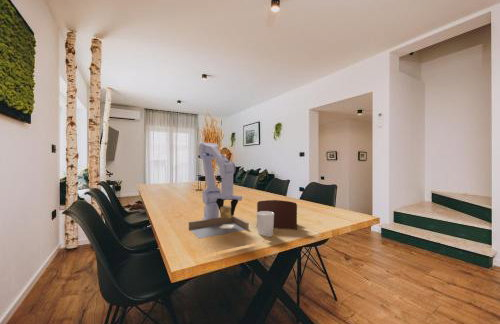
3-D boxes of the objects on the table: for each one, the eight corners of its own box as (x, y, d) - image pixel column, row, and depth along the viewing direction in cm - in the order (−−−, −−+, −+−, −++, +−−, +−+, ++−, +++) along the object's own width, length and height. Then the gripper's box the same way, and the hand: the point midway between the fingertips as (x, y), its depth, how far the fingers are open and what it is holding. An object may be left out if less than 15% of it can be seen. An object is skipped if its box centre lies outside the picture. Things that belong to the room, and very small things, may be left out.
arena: (188, 230, 103) (188, 221, 103) (233, 222, 116) (233, 215, 116) (199, 240, 90) (199, 231, 90) (248, 231, 102) (248, 223, 102)
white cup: (276, 234, 99) (277, 212, 99) (269, 239, 92) (269, 216, 92) (261, 231, 103) (261, 210, 103) (253, 236, 96) (253, 213, 96)
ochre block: (220, 217, 104) (220, 207, 104) (224, 215, 109) (224, 205, 109) (230, 218, 103) (230, 208, 103) (233, 215, 108) (233, 205, 108)
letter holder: (296, 230, 105) (297, 201, 105) (256, 227, 109) (256, 199, 109) (296, 224, 115) (296, 197, 115) (259, 222, 118) (259, 196, 118)
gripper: (210, 187, 104) (210, 215, 104) (239, 188, 100) (238, 217, 100) (216, 185, 111) (215, 212, 111) (243, 186, 107) (243, 214, 107)
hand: (227, 214), depth 106 cm, fingers closed on ochre block, 5 cm apart
